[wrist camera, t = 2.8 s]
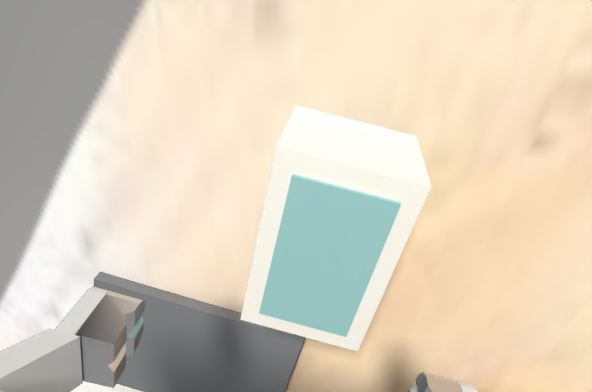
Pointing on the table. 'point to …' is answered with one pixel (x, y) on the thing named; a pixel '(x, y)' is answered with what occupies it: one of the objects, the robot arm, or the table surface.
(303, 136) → the card deck
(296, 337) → the card mat
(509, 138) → the table surface
